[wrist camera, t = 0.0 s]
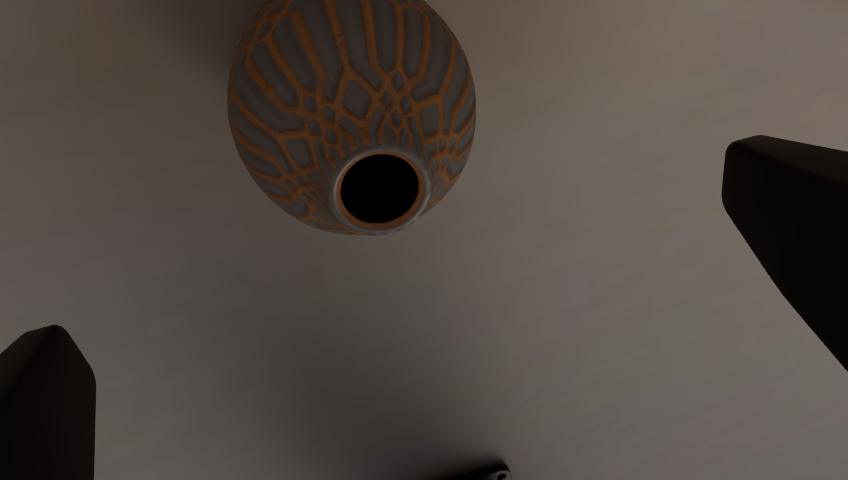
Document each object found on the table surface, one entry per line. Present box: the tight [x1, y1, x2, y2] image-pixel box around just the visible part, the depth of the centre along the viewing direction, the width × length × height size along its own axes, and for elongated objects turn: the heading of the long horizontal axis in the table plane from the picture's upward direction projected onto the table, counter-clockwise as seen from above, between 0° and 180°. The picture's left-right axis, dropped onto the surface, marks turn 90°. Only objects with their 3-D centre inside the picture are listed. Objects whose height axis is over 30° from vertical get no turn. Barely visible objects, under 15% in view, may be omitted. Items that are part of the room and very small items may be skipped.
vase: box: [228, 0, 476, 236], centre depth 19 cm, size 7×7×9 cm
